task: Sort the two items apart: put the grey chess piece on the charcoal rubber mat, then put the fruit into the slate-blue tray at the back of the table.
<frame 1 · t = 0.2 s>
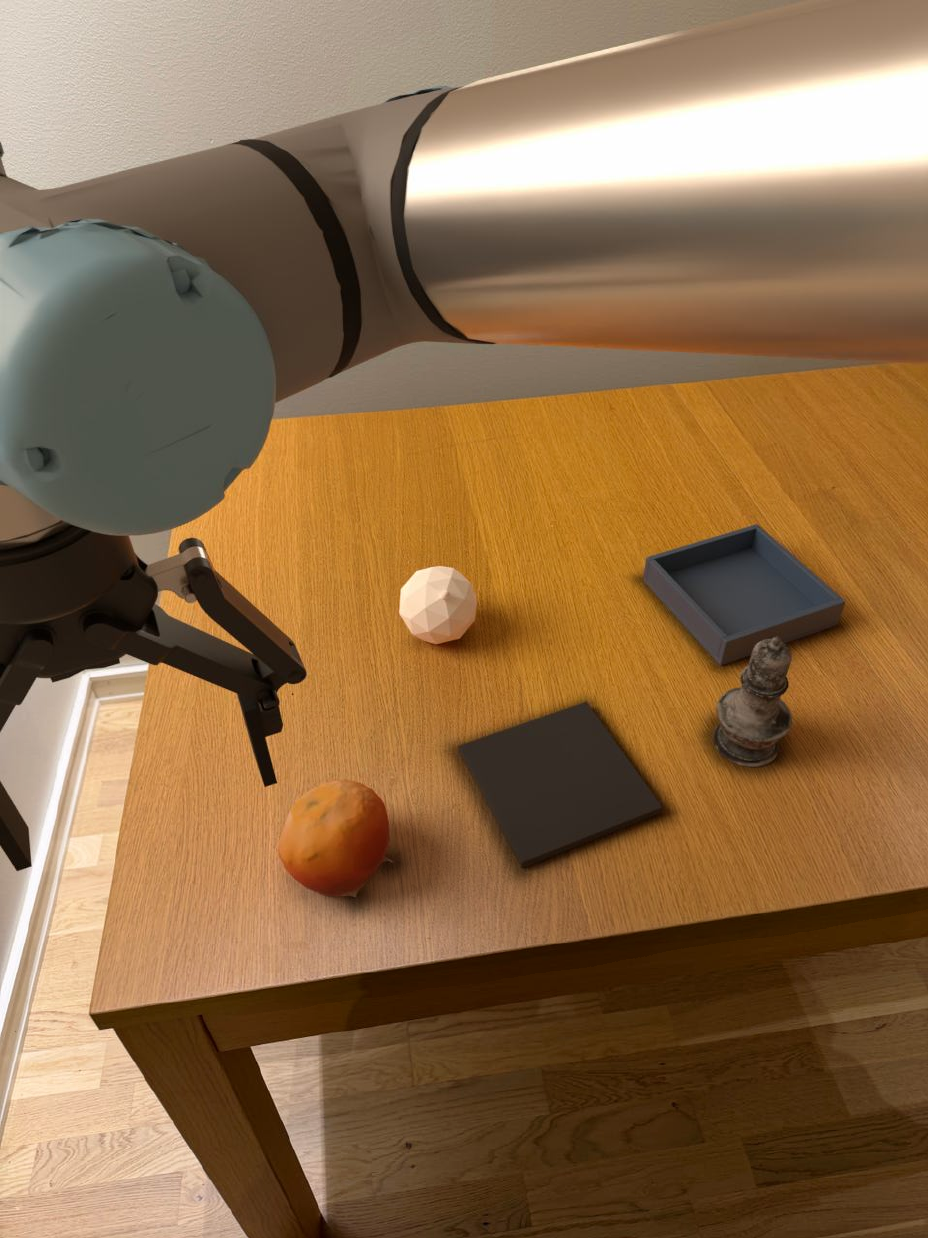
hand: (148, 807, 51), 16 cm above the table, tool pointing down, fingers open, 13 cm apart
fruit: (340, 862, 66), on the table
mat: (556, 781, 71), on the table
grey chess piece: (745, 743, 74), on the table
ornament: (439, 633, 84), on the table
tray: (737, 602, 86), on the table
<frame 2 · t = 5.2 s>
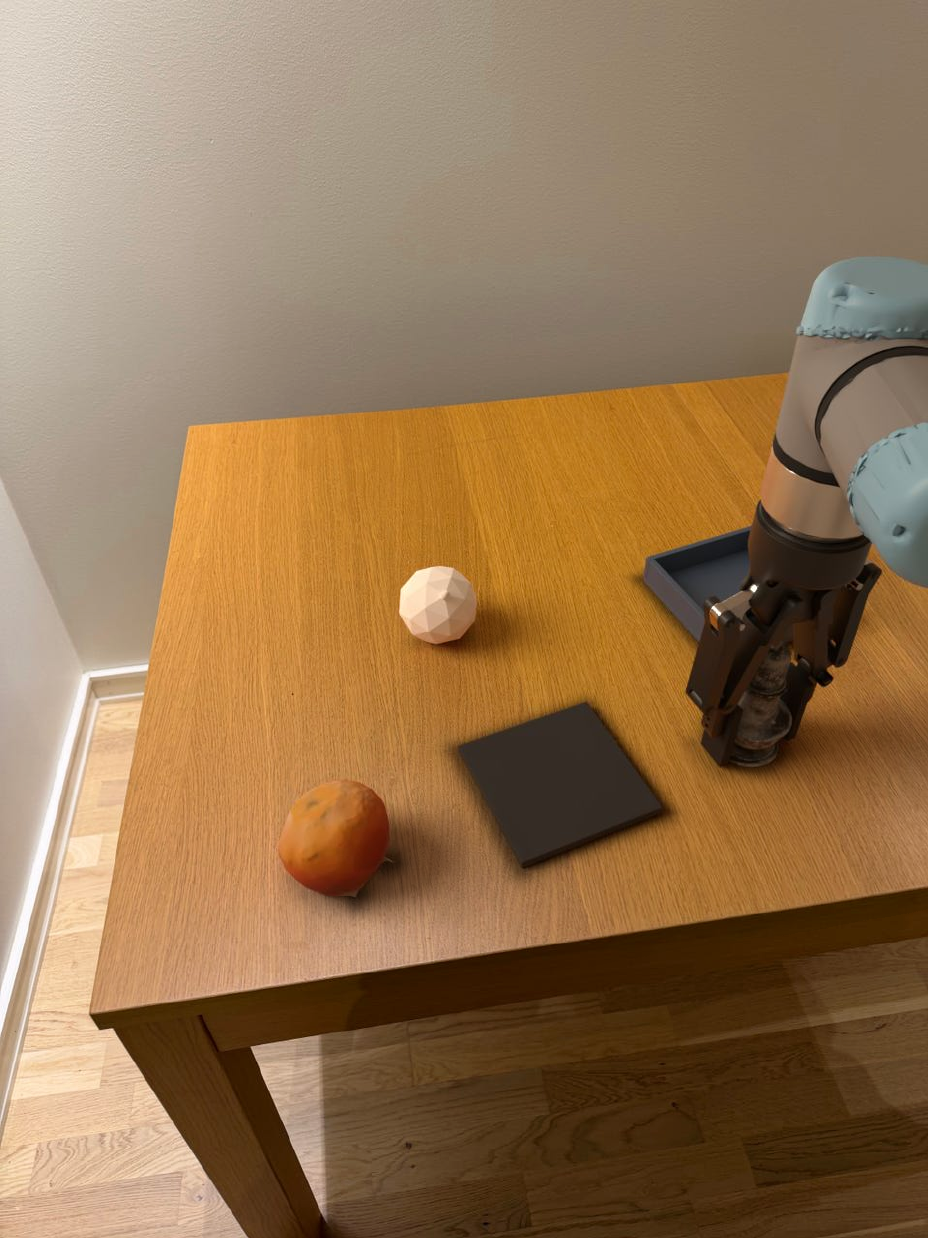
hand: (747, 740, 73), 0 cm above the table, tool pointing down, fingers closed on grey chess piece, 6 cm apart
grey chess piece: (744, 743, 74), on the table, touching gripper
everything else where it was.
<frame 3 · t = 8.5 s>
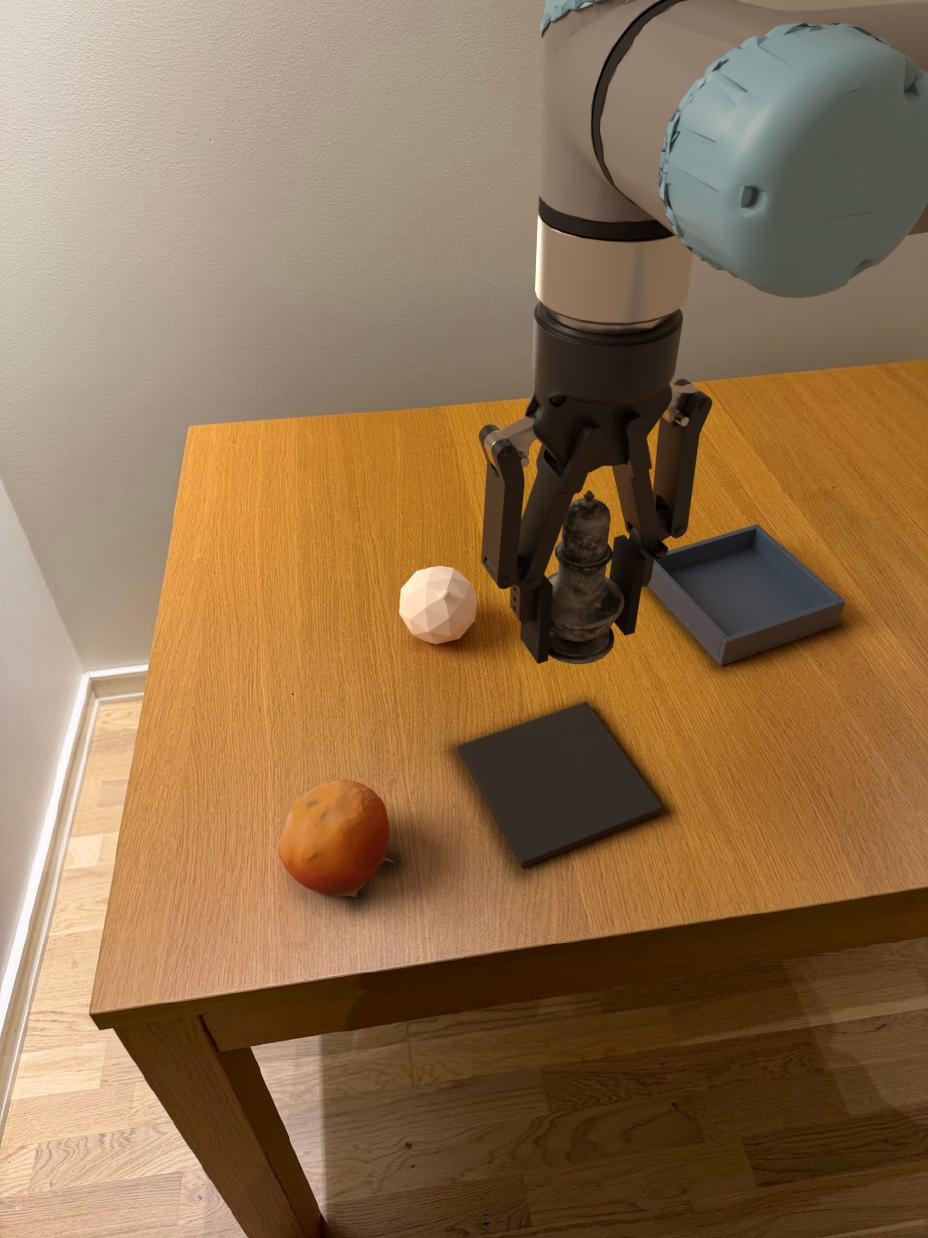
hand: (577, 635, 60), 16 cm above the table, tool pointing down, fingers closed on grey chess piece, 6 cm apart
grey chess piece: (575, 638, 61), point 15 cm above the table, touching gripper
everything else where it was.
when the fingers open (1 cm above the table, at t = 12.1 s): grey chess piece stays where it is, resting on mat.
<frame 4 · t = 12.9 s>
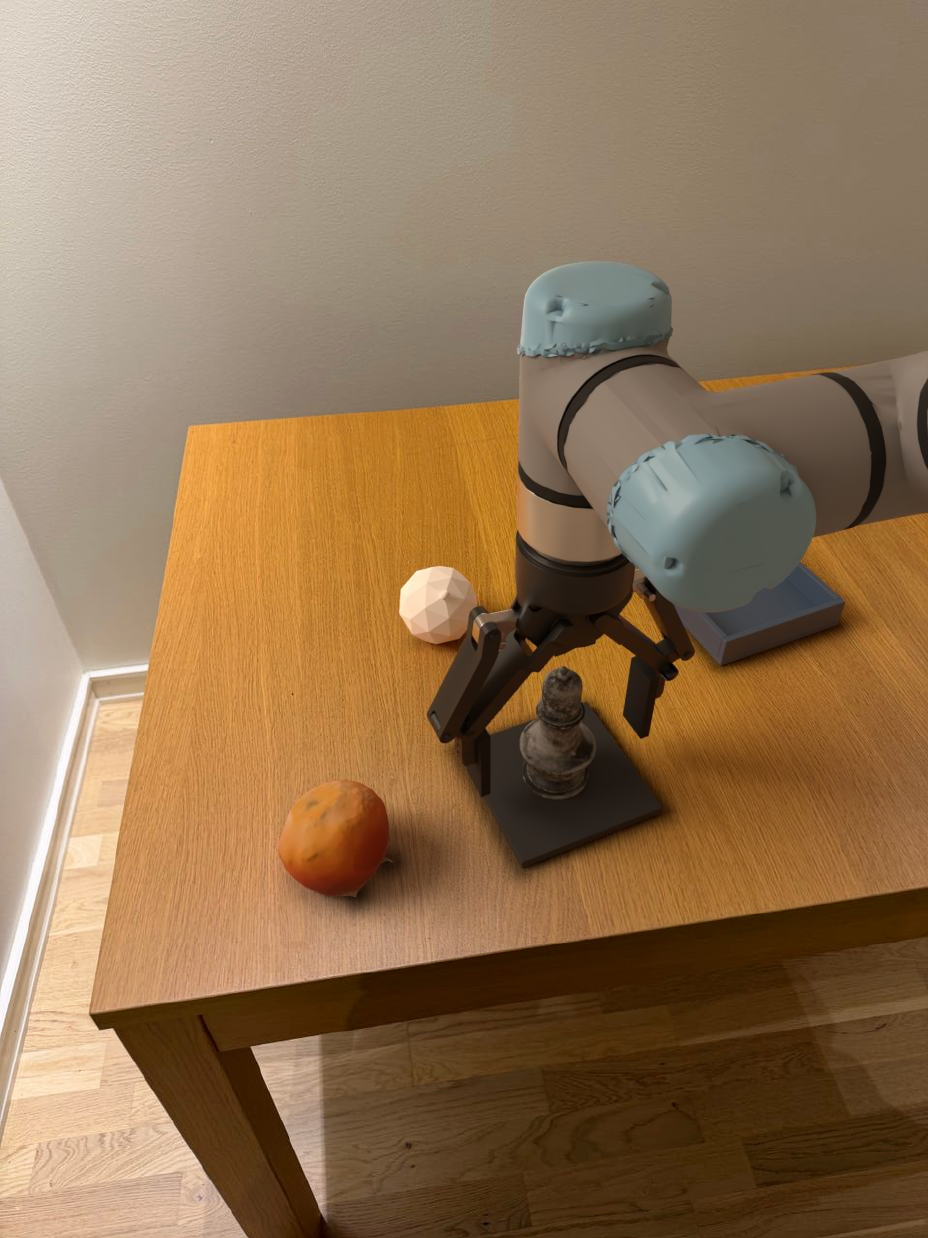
hand: (559, 753, 68), 4 cm above the table, tool pointing down, fingers open, 13 cm apart
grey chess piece: (555, 774, 71), point 1 cm above the table, touching mat
everything else where it was.
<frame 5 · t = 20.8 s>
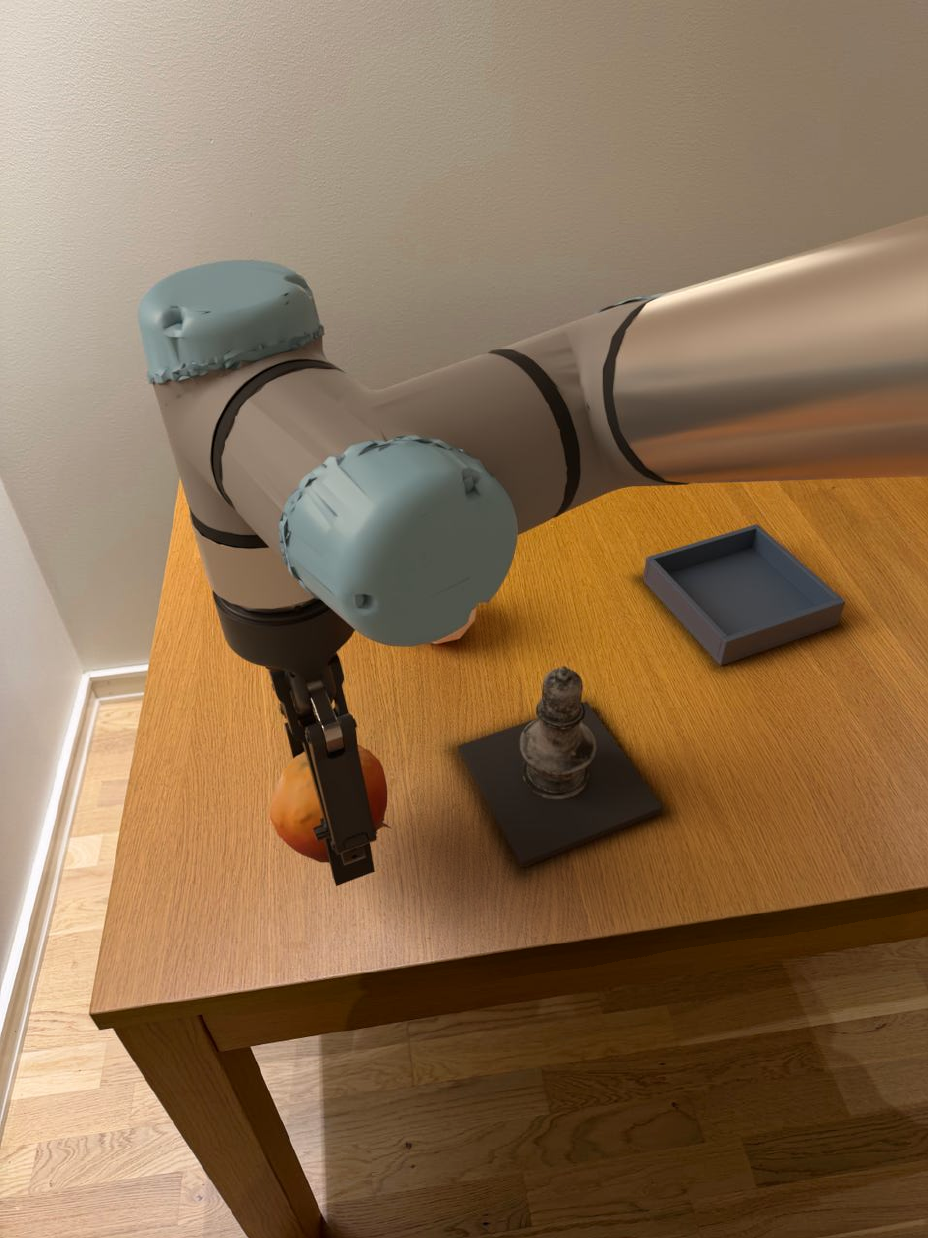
hand: (335, 824, 62), 5 cm above the table, tool pointing down, fingers closed on fruit, 8 cm apart
fruit: (336, 829, 63), point 5 cm above the table, touching gripper
everything else where it was.
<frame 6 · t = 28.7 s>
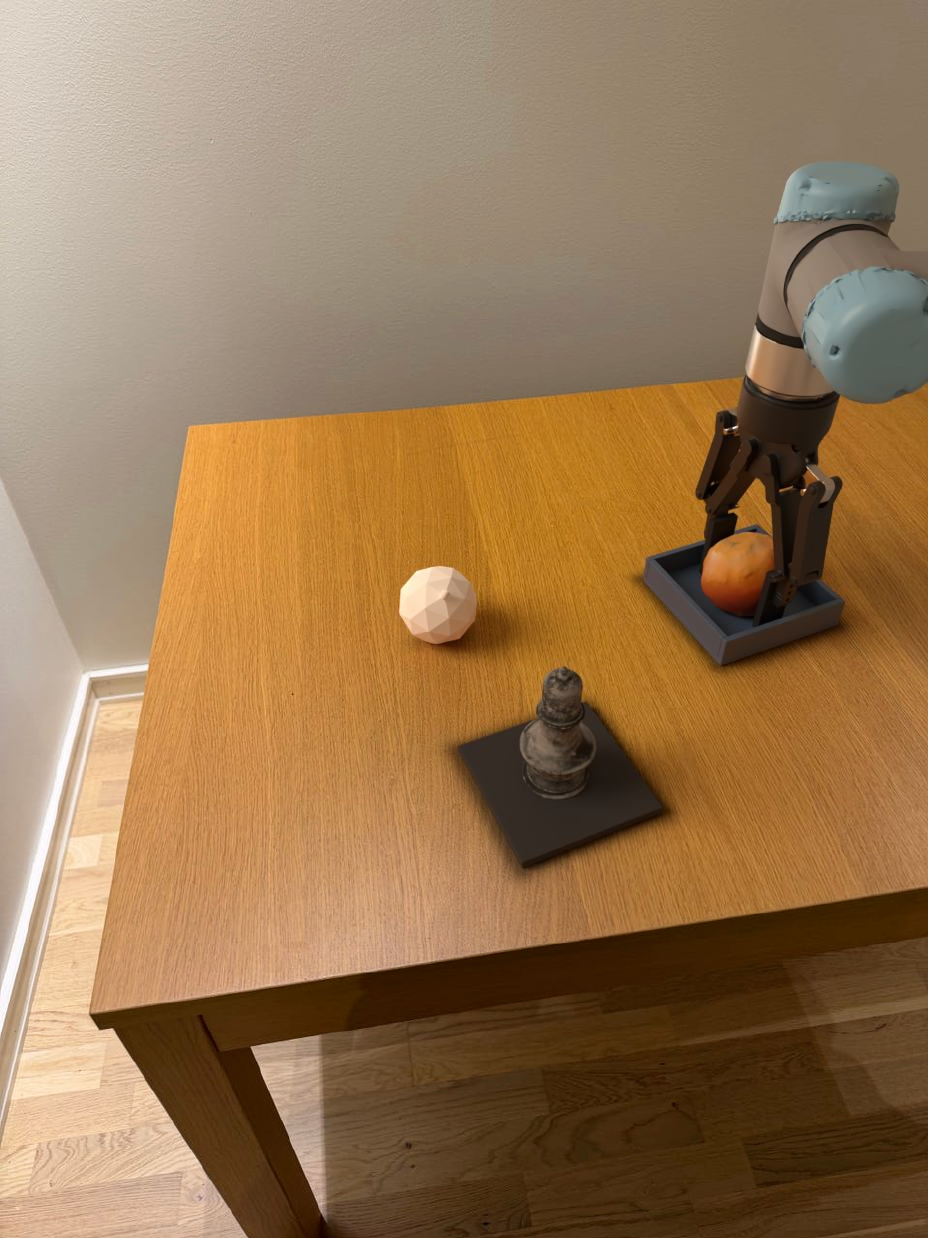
hand: (738, 596, 86), 1 cm above the table, tool pointing down, fingers closed on fruit, 8 cm apart
fruit: (738, 599, 86), resting on tray, touching gripper
everything else where it was.
when the fingers open (2 cm above the table, at t = 29.7 s): fruit stays where it is, resting on tray.
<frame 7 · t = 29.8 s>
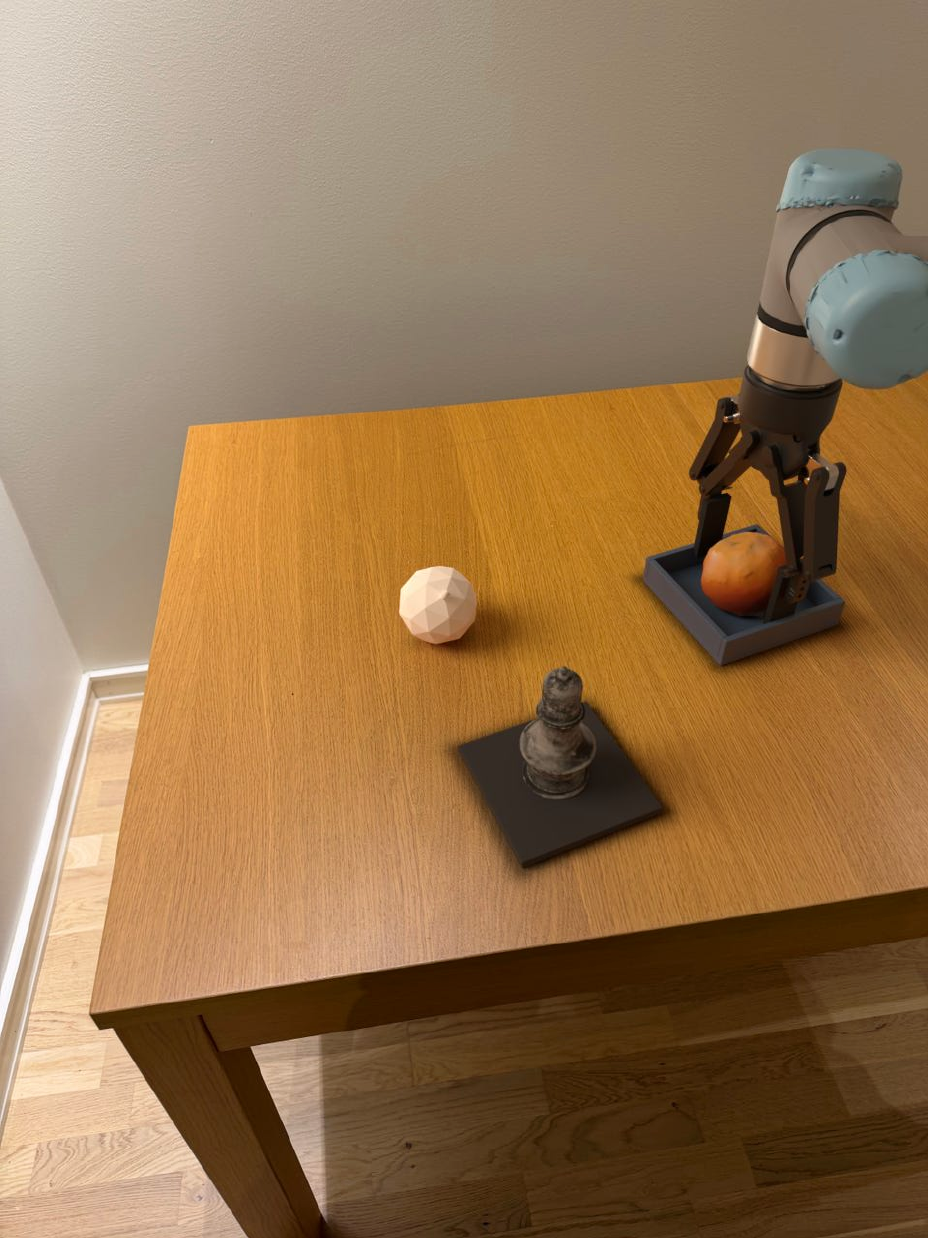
hand: (740, 585, 85), 2 cm above the table, tool pointing down, fingers open, 11 cm apart
fruit: (738, 599, 86), resting on tray
everything else where it was.
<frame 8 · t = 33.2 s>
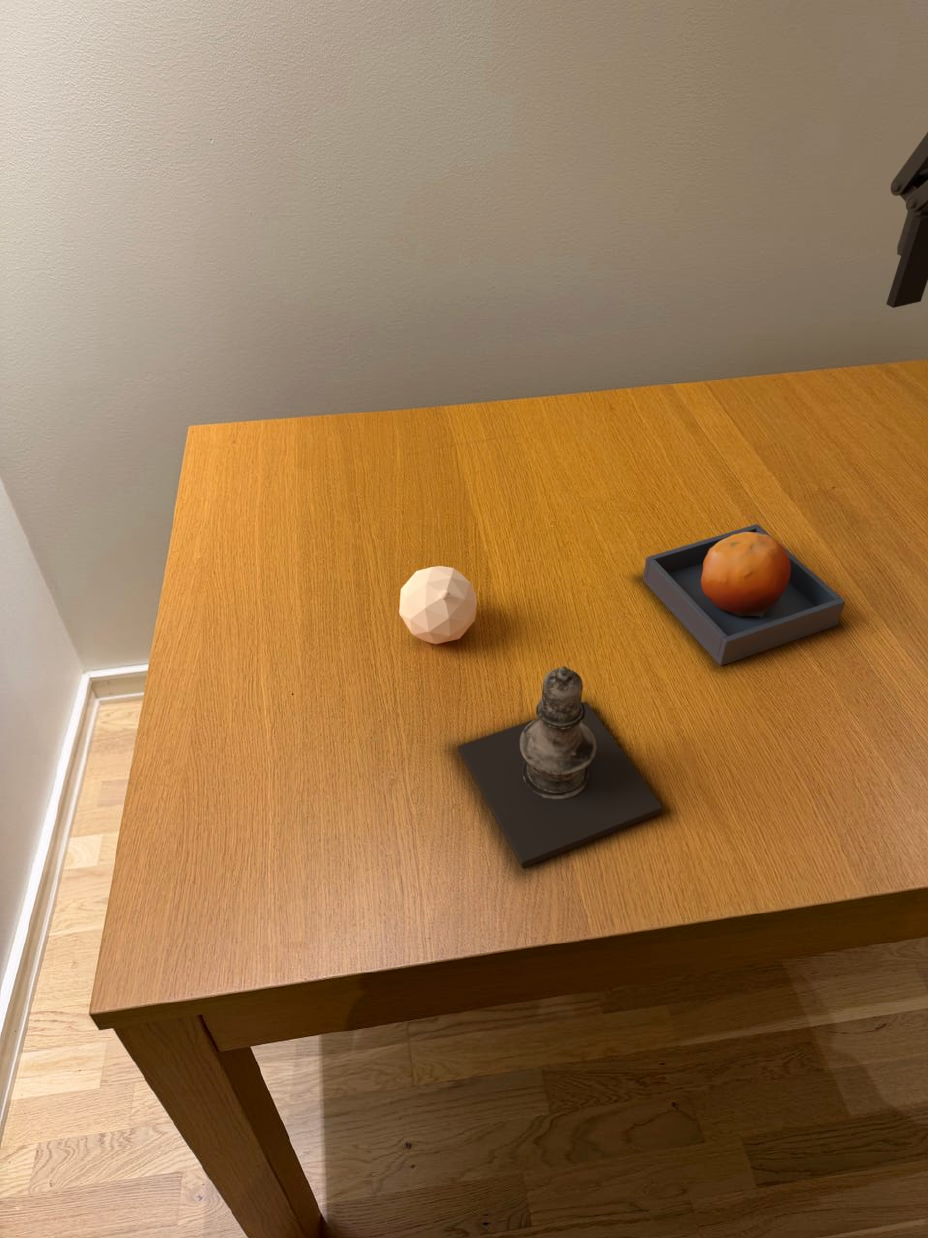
nothing on the table moved.
at the end: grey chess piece inside the target area on the mat (0.3 cm from its centre), point 0.6 cm above the mat's base; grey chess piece tilted 0°; fruit inside the target area in the tray (0.0 cm from its centre), point 0.3 cm above the tray's base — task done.
